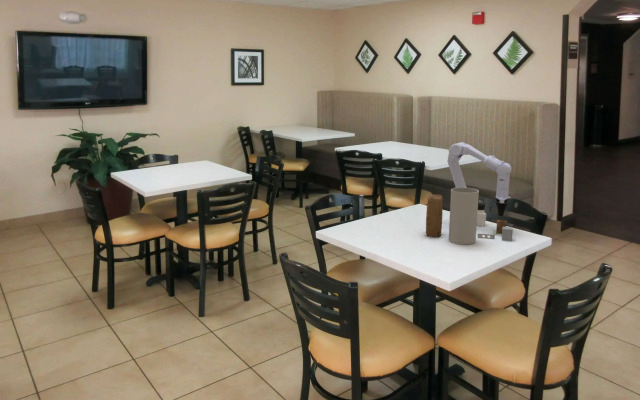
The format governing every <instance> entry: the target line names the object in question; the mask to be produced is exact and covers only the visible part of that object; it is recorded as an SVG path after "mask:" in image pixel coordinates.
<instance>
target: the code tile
mask: <svg viewBox="0 0 640 400" xmlns="http://www.w3.org/2000/svg"><path fill="white" fill-rule="evenodd" d="M495 236H496V235H493V234H489V233H487V234H486V233H477V239H488V240H495V239H496V237H495Z"/></svg>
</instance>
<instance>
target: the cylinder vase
mask: <svg viewBox="0 0 640 400" xmlns="http://www.w3.org/2000/svg"><path fill="white" fill-rule="evenodd" d="M479 192H480V191H479V189H477V188H472V187H467V188H456V187H453V188H451V189H450V202H449V203H450V204H449V205H450V207H449V208H450V209H449V222H448V223H449V224H448V225H449V226H448V227H449V228H448V241H449V242H450V243H452V244H456V245H463V246H464V245H472V244H475V243H476V239H477V227H478V226H477V212H478V202H479V195H480V194H479Z"/></svg>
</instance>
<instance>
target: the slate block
mask: <svg viewBox="0 0 640 400" xmlns="http://www.w3.org/2000/svg"><path fill="white" fill-rule="evenodd" d="M513 230H514V229H513V226H506V227H503V228H502V235H501V241H505V242H513V234H514V233H513V232H514V231H513Z"/></svg>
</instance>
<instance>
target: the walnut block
mask: <svg viewBox="0 0 640 400" xmlns="http://www.w3.org/2000/svg"><path fill="white" fill-rule="evenodd" d="M507 223H508V221H507V220H505V219H497V220H496V234H502V228H503V227H507Z"/></svg>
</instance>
